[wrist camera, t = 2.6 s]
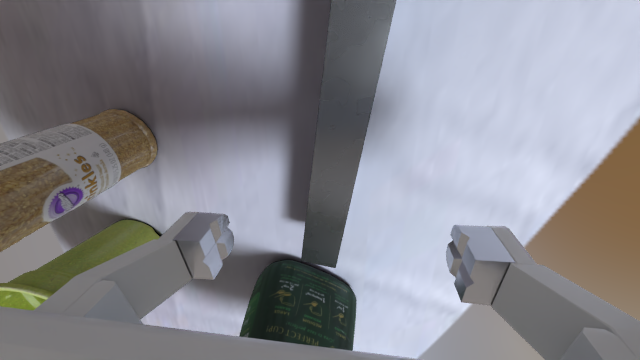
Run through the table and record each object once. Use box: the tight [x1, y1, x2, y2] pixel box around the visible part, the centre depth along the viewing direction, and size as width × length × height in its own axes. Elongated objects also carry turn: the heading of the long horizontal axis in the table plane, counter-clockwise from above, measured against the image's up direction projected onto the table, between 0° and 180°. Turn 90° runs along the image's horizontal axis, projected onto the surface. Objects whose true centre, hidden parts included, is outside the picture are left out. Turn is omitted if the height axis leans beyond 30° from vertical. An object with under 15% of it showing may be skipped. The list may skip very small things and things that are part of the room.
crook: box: [301, 0, 396, 268], centre depth 13 cm, size 21×7×4 cm, turn 173°
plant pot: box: [0, 220, 160, 311], centre depth 21 cm, size 9×9×9 cm
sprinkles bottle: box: [0, 109, 157, 252], centre depth 13 cm, size 5×5×14 cm
